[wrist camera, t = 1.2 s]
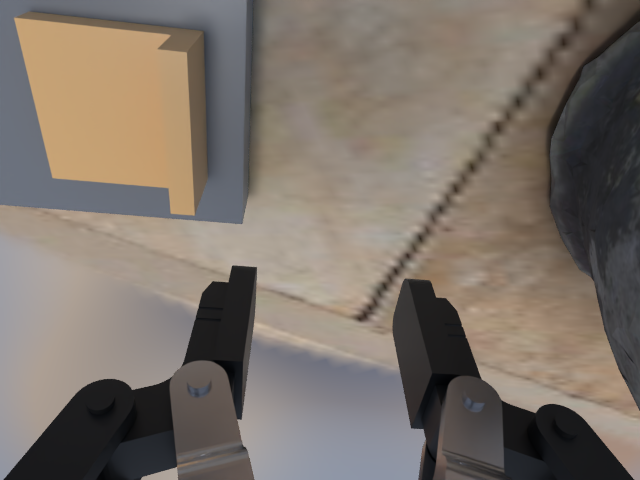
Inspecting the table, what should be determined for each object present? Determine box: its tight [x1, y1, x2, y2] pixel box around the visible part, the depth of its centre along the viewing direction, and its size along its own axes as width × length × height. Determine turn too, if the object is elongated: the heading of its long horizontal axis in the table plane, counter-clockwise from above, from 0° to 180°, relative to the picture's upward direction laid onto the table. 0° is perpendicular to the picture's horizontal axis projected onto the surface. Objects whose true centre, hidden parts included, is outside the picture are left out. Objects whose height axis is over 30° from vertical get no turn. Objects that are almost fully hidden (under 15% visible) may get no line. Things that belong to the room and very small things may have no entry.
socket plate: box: [0, 0, 253, 224], centre depth 26 cm, size 14×20×4 cm
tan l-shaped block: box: [14, 12, 208, 216], centre depth 23 cm, size 8×8×4 cm
